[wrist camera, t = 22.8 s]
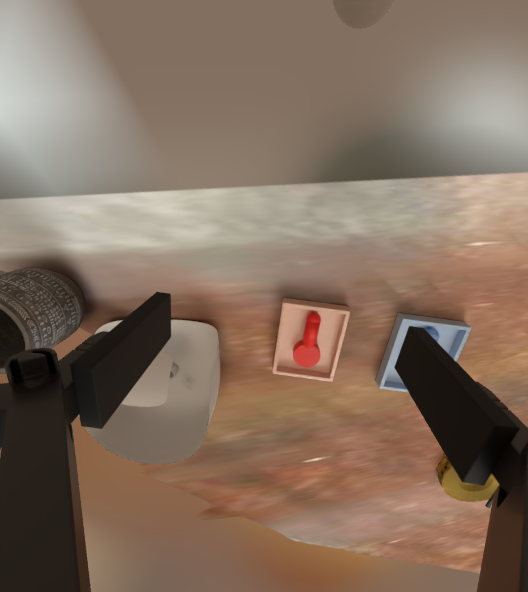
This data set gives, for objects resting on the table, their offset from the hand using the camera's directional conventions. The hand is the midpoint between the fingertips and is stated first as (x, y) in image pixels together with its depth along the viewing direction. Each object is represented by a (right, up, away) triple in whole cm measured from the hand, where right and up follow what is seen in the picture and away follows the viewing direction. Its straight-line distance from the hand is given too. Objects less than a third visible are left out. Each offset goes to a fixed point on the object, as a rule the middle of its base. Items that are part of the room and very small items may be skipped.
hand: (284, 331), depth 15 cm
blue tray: (+24, -7, +30) cm, 39 cm away
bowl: (-18, -11, +35) cm, 40 cm away
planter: (-35, +2, +31) cm, 47 cm away
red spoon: (+6, -4, +30) cm, 31 cm away
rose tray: (+6, -5, +30) cm, 31 cm away
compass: (+39, -32, +39) cm, 64 cm away
